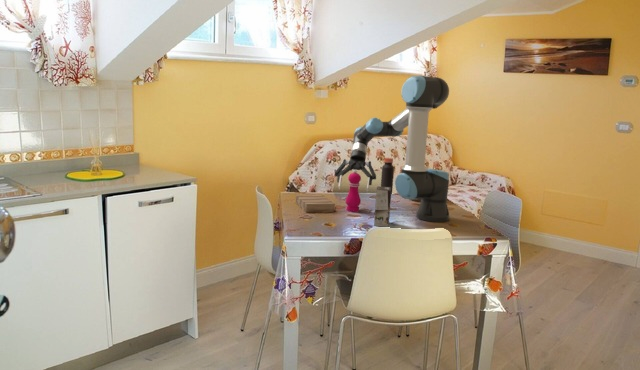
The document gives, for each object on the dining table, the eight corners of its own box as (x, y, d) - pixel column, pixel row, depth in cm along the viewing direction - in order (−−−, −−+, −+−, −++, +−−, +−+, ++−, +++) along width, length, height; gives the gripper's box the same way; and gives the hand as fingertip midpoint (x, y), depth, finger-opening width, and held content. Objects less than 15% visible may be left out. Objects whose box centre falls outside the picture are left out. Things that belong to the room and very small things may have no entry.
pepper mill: (350, 212, 250) (353, 171, 246) (342, 209, 256) (344, 168, 252) (363, 211, 254) (365, 170, 250) (354, 208, 260) (356, 168, 256)
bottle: (394, 193, 303) (397, 158, 300) (385, 194, 299) (388, 159, 296) (386, 191, 309) (389, 157, 305) (377, 191, 305) (380, 157, 301)
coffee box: (388, 227, 227) (391, 190, 224) (373, 225, 228) (376, 189, 225) (389, 222, 236) (392, 186, 233) (375, 220, 237) (377, 185, 234)
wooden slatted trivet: (334, 211, 250) (334, 203, 249) (306, 212, 246) (306, 204, 245) (322, 202, 269) (322, 194, 268) (295, 203, 265) (295, 195, 264)
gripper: (383, 160, 264) (379, 195, 252) (334, 156, 268) (328, 191, 256) (383, 151, 258) (379, 186, 246) (333, 147, 262) (327, 182, 250)
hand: (353, 188), depth 251 cm, fingers open, 13 cm apart
